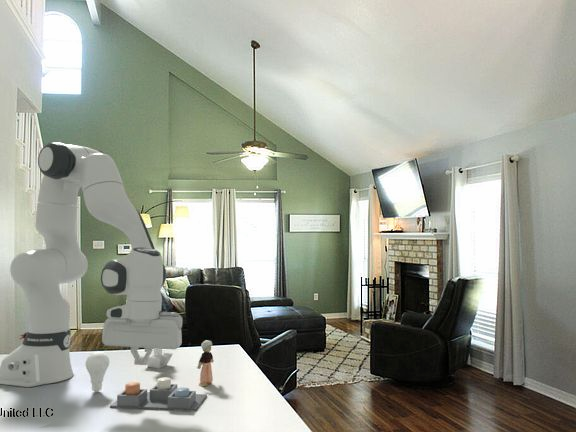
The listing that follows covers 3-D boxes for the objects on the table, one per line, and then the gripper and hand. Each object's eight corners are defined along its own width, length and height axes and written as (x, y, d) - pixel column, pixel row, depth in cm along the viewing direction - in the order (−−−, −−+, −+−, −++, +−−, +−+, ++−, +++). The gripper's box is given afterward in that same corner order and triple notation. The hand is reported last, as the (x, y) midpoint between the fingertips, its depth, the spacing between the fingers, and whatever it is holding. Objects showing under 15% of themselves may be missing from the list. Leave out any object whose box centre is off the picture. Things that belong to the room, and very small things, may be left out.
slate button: (172, 403, 118) (172, 391, 118) (177, 399, 121) (177, 387, 121) (186, 404, 117) (186, 392, 118) (190, 399, 121) (191, 387, 121)
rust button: (122, 398, 119) (123, 386, 119) (128, 393, 122) (128, 381, 122) (136, 398, 118) (136, 386, 119) (141, 394, 122) (142, 382, 122)
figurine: (174, 363, 160) (175, 319, 161) (158, 370, 151) (159, 323, 152) (156, 361, 162) (157, 317, 163) (139, 368, 153) (140, 322, 154)
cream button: (154, 392, 123) (155, 381, 123) (159, 388, 127) (159, 377, 127) (168, 393, 123) (168, 381, 123) (172, 389, 126) (172, 377, 127)
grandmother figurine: (207, 388, 134) (208, 343, 135) (195, 387, 135) (195, 342, 135) (217, 380, 141) (217, 337, 142) (205, 379, 142) (205, 337, 143)
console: (110, 407, 118) (110, 395, 118) (128, 393, 129) (128, 382, 129) (195, 411, 116) (196, 398, 116) (206, 396, 127) (207, 385, 127)
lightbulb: (84, 390, 131) (86, 350, 131) (108, 387, 133) (109, 348, 134) (84, 396, 125) (85, 355, 126) (109, 394, 128) (110, 353, 128)
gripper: (186, 310, 124) (183, 363, 123) (111, 306, 125) (108, 359, 125) (179, 314, 118) (176, 370, 117) (100, 310, 119) (97, 365, 119)
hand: (140, 364), depth 121 cm, fingers closed
